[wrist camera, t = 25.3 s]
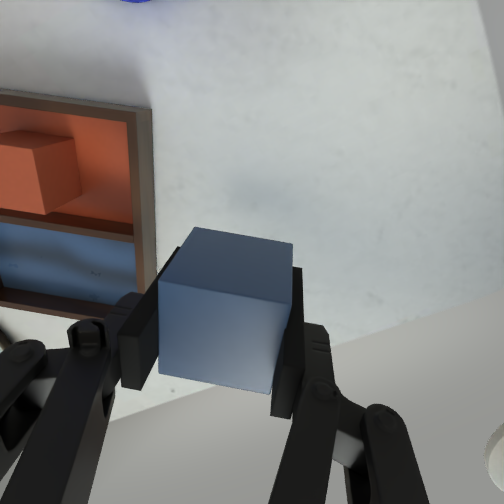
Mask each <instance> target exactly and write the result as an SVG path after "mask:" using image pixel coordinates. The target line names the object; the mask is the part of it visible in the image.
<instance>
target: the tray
mask: <svg viewBox="0 0 504 504" xmlns="http://www.w3.org/2000/svg"><path fill="white" fill-rule="evenodd" d="M16 130H21V131H28V132H35V133H42V134H49V135H56V136H63V137H70V138H74V141H75V148H76V155H77V162H78V169H79V177H80V184H81V191H82V195H81V196H79V197H77V198H76V199H74V200H72V201H70V202H68V203H66V204H64V205H62V206H61V207H59V208H57V209H55V210H53V211H51V212H49V213H48V214H46V215H43V214H37V213H31V212H24V211H18V210H12V209H5V208H0V306H1V307H7V308H13V309H19V310H24V311H30V312H36V313H42V314H47V315H53V316H59V317H65V318H70V319H76V320H83V319H88V318H97V319H101V320H104V318H105V317H106V316H107V315H108V313H110V311H111V310H112V308H113V307H115V304H116V303H117V302H118V301H119V299H120V298H121V297H123V296H124V295H126V294H128V293H129V292H136V293H142V294H145V292H146V291H147V289H148V288H149V286H150V285H151V284H152V282H153V281H154V279H155V278H156V276H157V270H156V238H155V205H154V172H153V140H152V109H147V108H140V107H132V106H125V105H118V104H110V103H103V102H96V101H88V100H81V99H74V98H66V97H59V96H52V95H45V94H37V93H30V92H23V91H15V90H8V89H1V88H0V133H4V132H10V131H16Z"/></svg>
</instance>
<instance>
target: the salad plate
mask: <svg viewBox="0 0 504 504" xmlns="http://www.w3.org/2000/svg"><path fill="white" fill-rule="evenodd" d="M10 345H11V344H10V342H9V340H8V338H7V337H6V336H5V334H4V333H3V332H2V331H1V330H0V353H1V352H2V351H3V350H4V349H6V348H7V347H8V346H10Z"/></svg>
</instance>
